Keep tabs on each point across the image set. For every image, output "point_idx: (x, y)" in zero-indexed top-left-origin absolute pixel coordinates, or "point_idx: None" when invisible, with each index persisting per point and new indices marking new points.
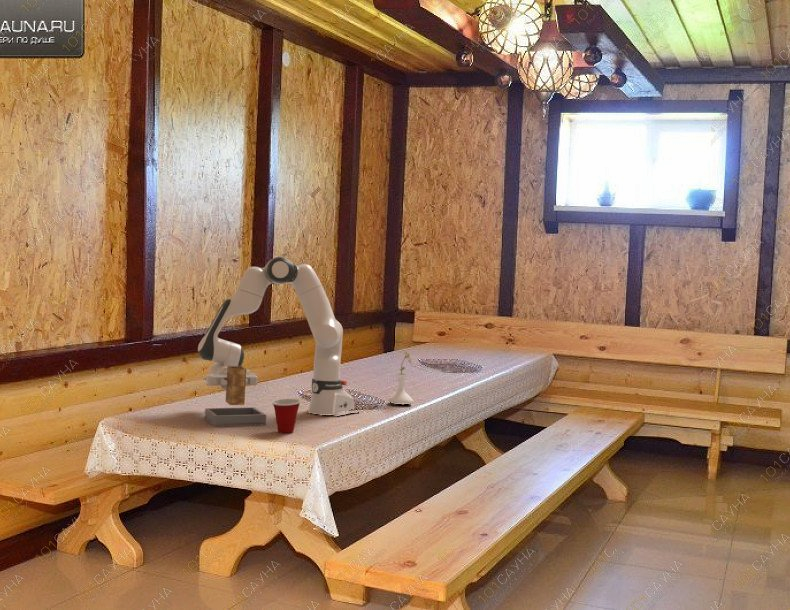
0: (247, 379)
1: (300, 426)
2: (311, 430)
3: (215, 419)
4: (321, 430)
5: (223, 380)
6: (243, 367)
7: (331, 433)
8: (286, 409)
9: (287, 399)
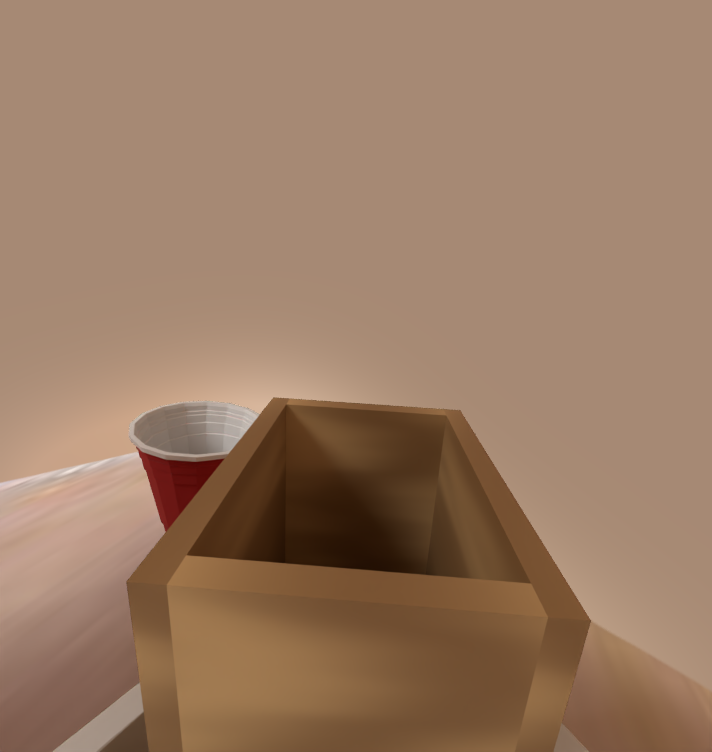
0: (64, 746)
1: (23, 618)
2: (82, 538)
3: None
4: (46, 530)
5: (567, 733)
6: (226, 459)
7: (75, 492)
8: (235, 428)
9: (149, 447)
